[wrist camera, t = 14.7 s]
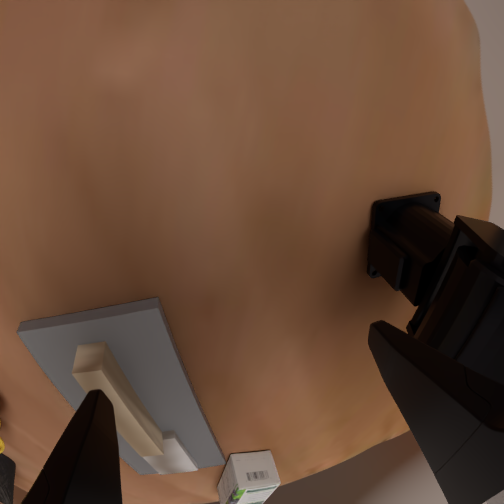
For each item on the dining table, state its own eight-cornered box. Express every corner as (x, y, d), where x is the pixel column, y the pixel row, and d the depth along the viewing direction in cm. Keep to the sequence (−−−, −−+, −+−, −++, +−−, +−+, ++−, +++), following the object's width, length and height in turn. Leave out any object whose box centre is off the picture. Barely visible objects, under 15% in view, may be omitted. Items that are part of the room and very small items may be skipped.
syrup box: (282, 483, 33) (257, 512, 39) (270, 447, 38) (249, 483, 44) (238, 489, 31) (222, 516, 38) (229, 451, 36) (216, 486, 43)
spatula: (121, 338, 21) (118, 367, 19) (197, 463, 34) (200, 482, 32) (63, 347, 21) (56, 375, 18) (159, 468, 33) (161, 486, 31)
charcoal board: (158, 296, 22) (158, 307, 21) (224, 456, 36) (226, 463, 35) (21, 322, 20) (16, 332, 19) (139, 467, 35) (140, 474, 34)
